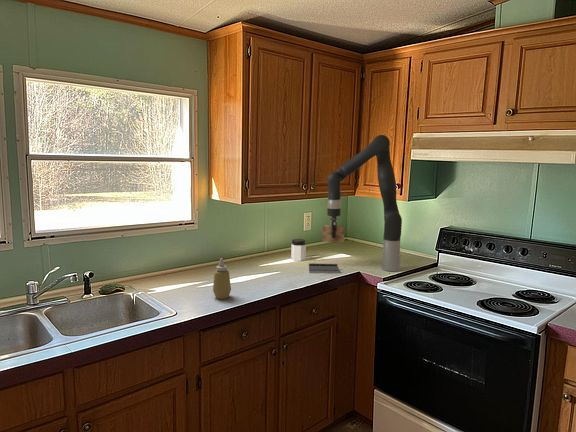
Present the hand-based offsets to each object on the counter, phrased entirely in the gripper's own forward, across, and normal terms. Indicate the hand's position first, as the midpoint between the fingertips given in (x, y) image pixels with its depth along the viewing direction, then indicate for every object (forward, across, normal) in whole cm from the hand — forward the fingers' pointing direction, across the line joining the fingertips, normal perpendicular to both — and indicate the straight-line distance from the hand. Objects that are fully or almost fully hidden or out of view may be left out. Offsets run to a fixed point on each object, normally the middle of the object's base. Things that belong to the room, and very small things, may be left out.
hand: (333, 237), depth 244 cm
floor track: (+17, -11, +6) cm, 21 cm away
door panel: (+3, 0, 0) cm, 3 cm away
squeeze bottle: (+17, -57, +54) cm, 80 cm away
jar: (+17, +14, +20) cm, 30 cm away
